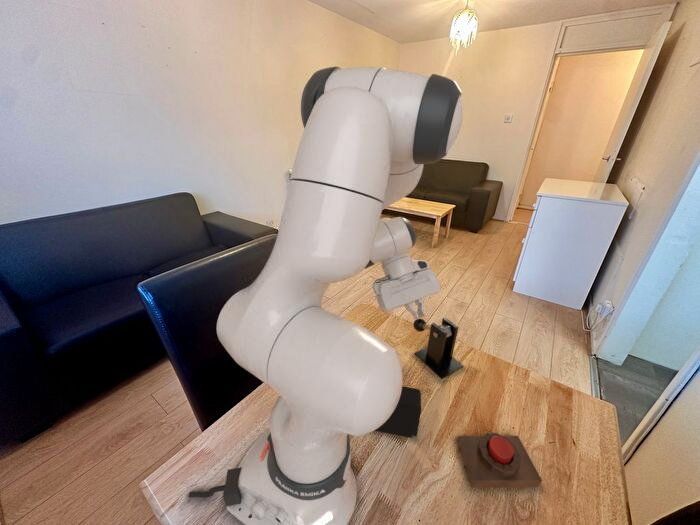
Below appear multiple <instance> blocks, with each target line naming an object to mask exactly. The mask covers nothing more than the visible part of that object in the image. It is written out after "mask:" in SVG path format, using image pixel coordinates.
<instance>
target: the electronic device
mask: <svg viewBox="0 0 700 525" xmlns="http://www.w3.org/2000/svg"><path fill="white" fill-rule="evenodd" d="M421 413H422V391H421V390H420V389H418V388H415V387H409V386H404V385H402V391H401V395H400V399H399V402H398V404H397V406H396V408H395V410H394V411H393V413H392V415H391V416H390V417H389V418H388V419H387V421H386V422H385V423H384V424H382V425H381V426H380V427H379V428H377V429H376V430H374V431H375V432H378V433H383V434H389V435H396V436H400V437H404V438H410V439H413V437H417V436H418V431H419V427H420V426H419V425H420V420H421ZM374 431H373V432H374Z"/></svg>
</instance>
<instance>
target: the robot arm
mask: <svg viewBox="0 0 700 525" xmlns="http://www.w3.org/2000/svg"><path fill="white" fill-rule="evenodd" d="M300 116H301V122H302V127H303V132H302V134H301V138H300V141H299V144H298V147H297V151H296V153H295V157H294V161H293V165H292V168H291V174H290V178H289V181H288V187H287V191H286V196H285V201H284V204H283V209H282V214H281V219H280V221H279V222H280V223H279V227H278V231H277V235H276V239H275V242H274V245H273V247H272V250H271V253H270V255H269V257H268V259H267V261H266V263H265V265H264V266H263V268H262V269H261V271H260V273H259V274H258V275H257V277H256V278H255V279H254V281H252V283H251V284H250V285H248V286H247V287H244V288H242V289H240V290H238V291H237V292H236V293H234V294H233V295H232V296H231V297H230V298H229V299H228V300H227V301H226V303H225V304H224V305H223V307H222V308H221V310H220V313H219V315H218V318H217V321H216V335H217V338H218V341H219V342H220V343H221V345H222V347H223V348H224V349H225V350H226V352H227V353H228V355H230V357H231V358H232V359H233V360H234V361H235V363H236V364H237V365H239V366H240V367H241V368H243V369H244V370H245V371H247V372H249V373H250V374H251V375H253V376H254V377H256V378H257V379H258V380H260V381H261V382H262V383H264V384H266V385H267V386H268V387H270V388H271V390H273V391H274V392H275V393H276V394H277V395H279V396H278V397H277V399H276V401H275V402H274V405H273V407H272V409H271V411H270V414H269V419H268V420H269V421H268V422H269V423H268V426H269V428H267V429H266V430H265V431H263V433H262V434H261V435H260V436H259V437H258V438H257V440H256V441H255V442H254V443H253V444H252V445H251V447H250V448H249V449H248V451H246V453H245V454H244V456H243V458H242V459H241V461H240V463H239V465H238V467H234V468H231V469H227V472H226V476H225V482H224V484H223V485H218V486H213V487H211V488H209V490H208V491H189V493H188V498H209V497H212V496H214V494H215V493H218V492H223V494H222V499H223V501H224V504H225V506H226V510H227V511H228V513H230V514H231V515H232V516H233V517H235V518H236V519H237V520H238V521H240V522H241V523H242V524H243V525H348V523H349V521H350V520H351V518H352V516H353V513H354V511H355V508H356V503H357V499H358V486H357V480H356V476H355V473H354V470H353V468H352V467H351V463H352V452H351V441H350V440H351V439H350V436H352V437H357V438H360V437H363V436H367V435H368V434H371V433H373V432H374V430H376V429H377V428H379V427H380V426H381V425H382V424H384V423H385V422H386V421H387V419H388V418H389V417H390V416H391V415H392V413H393V411H394V410H395V408H396V406H397V404H398V402H399V399H400V395H401V391H402V386H403V384H404V382H403V381H404V377H403V376H404V375H403V374H404V373H403V368H402V367H403V366H402V363H401V360H400V357H399V354H398V351H397V350H396V349H395V348H394V347H392V346H391V345H390V344H388V343H387V342H386V341H385V340H383V339H382V338H380V337H379V336H377V335H376V334H375V333H373V332H372V331H371V330H369V329H368V328H366V327H365V326H363V325H361V324H358V323H357V322H354V321H351V320H349V319H347V318H344V317H343V316H340V315H338V314H336V313H334V312H331V311H329V310H326V309H324V308H323V307H322V306H323V305H322V302H323V298H324V295H325V294H326V291H327V289H328V288H329V286H330V285H331V284H335V283H340V282H343V281H347V280H350V279H352V278H354V277H356V276H358V275H359V274H360V273H361V272H362V271H363V270H364V269H369V268H371V267H372V266H374V265H376V264H378V263H380V264H381V270H382V271H383V274H384V276H383V277H380V278H376V279H375V280H374V281H373V283H372V290H373V292H374V293H375V297H376V300H377V301H376V302H377V304H378V308H379V310H380V311H381V312H382V313H387V312H390V311H393V310H395V309H398V308H401V307H403V306H404V308H405V310H407V312H409V313H410V314H411V315H412V317H413V319H414V320H416V319H421V318H423V317H425V316H426V313H425V310H424V307H425V306H424V305H425V304H424V303H425V302H424V299H425V298H427V297H430V296H432V295H435V294H437V293H439V292H441V285H440V282H439V280H438V278H437V276H436V274H435V272H434V271H433V269H431V268H430V267H431V265H430V263H429V261H428V260H422V259H421V260H420V259H419V260H418V259H412V257H411V255H410V254H409V252H408V251H410V250H411V249H413V248H414V246H415V245H416V243H417V240H418V236H417V233H416V230H415V228H414V226H413V223H412V222H411V220H409V219H407V218H405V217H404V216H398V217H397V216H396V217H392V218H390V217H382V218H381V216H382V212H383V210H385V209H387V208H388V207H390V206H392V205H393V204H395V203H397V202H398V201H400V200H402V199H403V198H405V197H407V196H408V195H409V194H411V193H412V192H413V191H414V190H415V189H416V187H417V186H418V184H419V182H420V180H421V178H422V174H423V171H424V165H430V164H437V162H439V161H441V160H442V159H444V158H445V157H446V156H447V155H448V151H450V150H451V148H452V147H453V145H454V144H455V142H456V140H457V139H458V136H459V134H460V132H461V129H462V125H463V117H464V106H463V100H462V90H461V89H460V87H459V85H458V83H457V82H456V81H455V80H454V79H453V78H450V77H447V76H443V75H441V74H436V73H432V74H431V75H425V74H422V73H417V72H410V71H405V70H398V69H389V68H385V67H384V66H383V67H381V66H359V67H346V68H341V67H339V66H330V67H325V68H321V69H319V70H317V71H315V72H314V73H313V74H312V75H311V77H310V78H309V79H308V81H307V82H306V84H305V85H304V87H303V89H302V94H301V100H300ZM414 304H415V306H417V310H416V309H415V308H414Z"/></svg>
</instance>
